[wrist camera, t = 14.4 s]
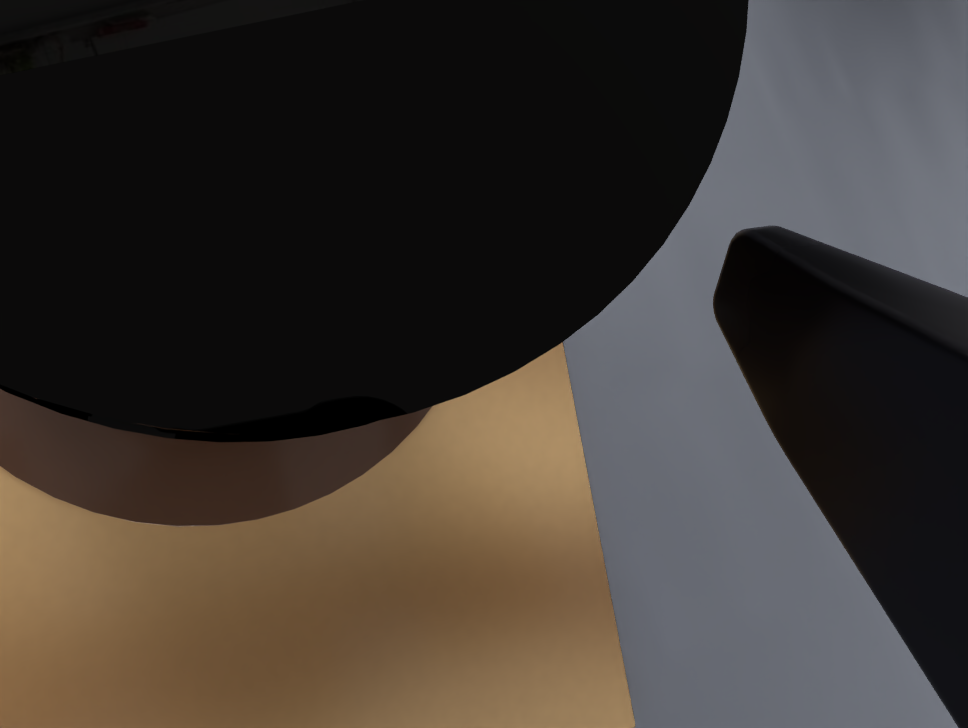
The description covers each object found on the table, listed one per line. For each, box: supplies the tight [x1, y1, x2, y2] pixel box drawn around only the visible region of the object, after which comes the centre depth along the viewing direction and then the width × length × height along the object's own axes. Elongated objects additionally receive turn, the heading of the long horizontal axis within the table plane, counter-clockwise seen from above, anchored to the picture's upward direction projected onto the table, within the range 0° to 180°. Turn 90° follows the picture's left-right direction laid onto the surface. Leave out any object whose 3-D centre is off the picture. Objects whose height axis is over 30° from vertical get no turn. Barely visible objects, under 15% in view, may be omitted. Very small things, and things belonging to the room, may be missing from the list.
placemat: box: [0, 342, 635, 728], centre depth 16 cm, size 20×12×1 cm, turn 12°
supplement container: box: [0, 0, 748, 444], centre depth 10 cm, size 7×7×10 cm
